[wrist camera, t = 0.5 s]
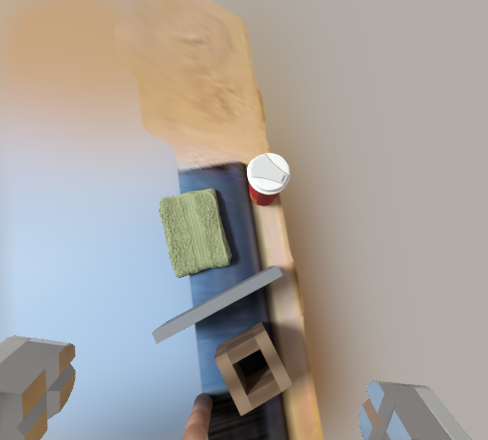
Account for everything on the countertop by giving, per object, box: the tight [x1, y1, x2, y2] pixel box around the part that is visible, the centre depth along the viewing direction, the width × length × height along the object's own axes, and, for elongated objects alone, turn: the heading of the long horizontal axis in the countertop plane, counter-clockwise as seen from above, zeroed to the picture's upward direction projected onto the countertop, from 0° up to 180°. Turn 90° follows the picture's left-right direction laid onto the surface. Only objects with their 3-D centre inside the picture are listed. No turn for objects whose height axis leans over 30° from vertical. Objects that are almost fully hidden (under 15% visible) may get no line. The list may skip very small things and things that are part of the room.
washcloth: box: [159, 189, 232, 278], centre depth 57 cm, size 13×18×3 cm
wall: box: [152, 266, 283, 343], centre depth 51 cm, size 2×24×10 cm, turn 118°
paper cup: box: [247, 153, 291, 206], centre depth 53 cm, size 8×8×14 cm
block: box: [215, 322, 293, 416], centre depth 50 cm, size 10×10×8 cm
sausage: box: [183, 393, 213, 440], centre depth 46 cm, size 4×4×12 cm
